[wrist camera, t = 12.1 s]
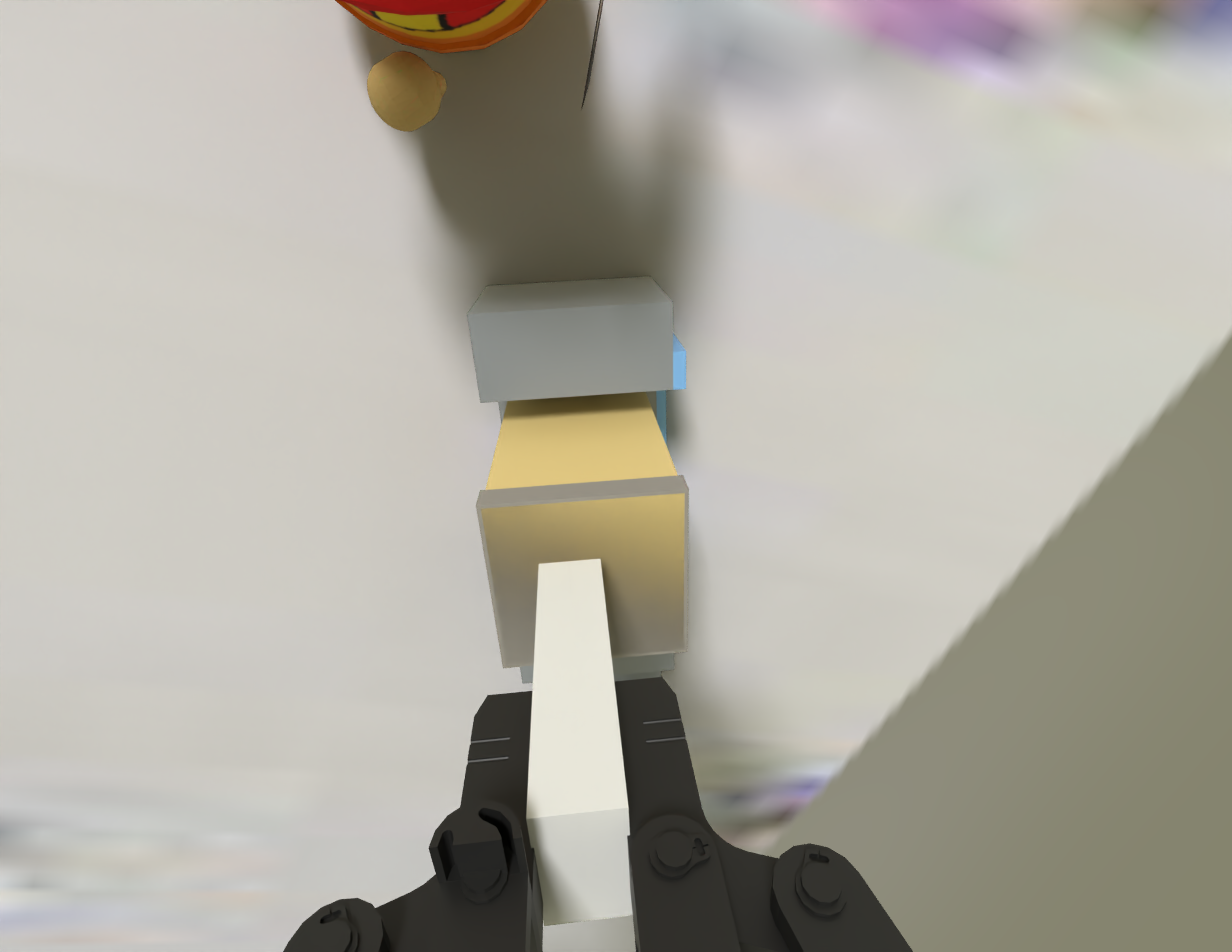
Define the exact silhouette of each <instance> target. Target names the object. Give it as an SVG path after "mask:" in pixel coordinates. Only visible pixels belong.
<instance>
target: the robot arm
mask: <svg viewBox="0 0 1232 952" xmlns="http://www.w3.org/2000/svg"><path fill="white" fill-rule="evenodd" d="M429 851H430V855H431V858H432V862H433V865H434V869H435V872H436V875H434V876H433V877H432V878H431V879H430V880H429V881H427V882H426V883H425V884H424V885H422V886H420V887H419V888H417V889H415V890H414V891H412V892H410V893H408V894H406V895H404V896H401V897H399V898H397V899H395V900H393V901H390V902H388V903H386V904H384V905H382V906H379V907H377V908H374V906H373V905H372V904H371V903H368V902H366V901H363V900H361V899H359V898H353V899H340V900H338V901H335V902H333V903H331V904H329V905H326V906H324V907H322V908H320V909H319V910H318V911H317V912H315V913H314V914H313V915H312V916H310V917H309V918H308V919H307V920H306V921H304V922H303V923H302V925H301V926H300V927H299V929H298V930H297V931H296V933H295V934H294V935H293V937H292V938H291V940H290V941H289V942H288V944H287V946H286V948H285V949H284V951H283V952H543V951H542V938H543V921H544V926H548V925H556V924H565V923H573V922H581V921H590V920H598V919H606V918H615V917H623V916H632V915H633V922H634V932H635V945H636V952H913V951H912V949H911V948H910V947H909V945H908V944H907V942H906V941H905V939H904V938H903V936H902V935H901V933H900V932H899V930H898V929H897V928H896V926H895V925H894V923H893V922H892V920H891V919H890V917H889V916H888V914H887V913H886V912H885V910H884V909H883V907H882V906H881V904H880V903H879V901H878V900H877V898H876V897H875V895H874V894H873V892H872V891H871V890H870V888H869V887H868V885H867V884H866V882H865V881H864V879H863V878H862V876H861V875H860V874H859V872H858V871H857V870H856V869H855V868H854V867H853V866H852V865H851V863H850V862H849V861H848V860H847V859H846V858H845V857H843V856H841V855H840V854H838V853H836V852H835V851H833V850H831V849H830V848H827V847H823V846H819V845H814V844H804V845H798V846H793V847H792V848H790V849H789V850H788V851H786V852H785V853H783V854H782V855H781V856H780V858H779V859H778V858H773V857H769V856H764V855H760V854H756V853H751V852H747V851H745V850H742V849H739V848H736V847H734V846H732V845H731V844H729V843H727V842H726V841H724V840H723V839H722V838H721V837H720V836H719V835H718V834H716V833H715V832H714V831H713V829H712V828H711V826H710V825H709V823H708V822H707V820H706V818H705V815H704V813H703V810H702V807H701V802H700V798H699V794H698V789H697V785H696V780H695V776H694V772H693V767H692V763H691V759H690V754H689V750H688V745H687V741H686V739H685V732H684V728H683V724H682V721H681V715H680V711H679V706H678V702H677V697H676V694H675V693H674V692H673V691H672V689H671V688H670V687H669V686H668V684H667V683H666V682H665V681H664V679H663V678H662V677H655V678H644V679H634V680H624V681H614V675H613V666H612V657H611V648H610V639H609V630H608V621H607V612H606V603H605V594H604V586H603V577H602V568H601V559H589V560H578V561H566V562H555V563H543V564H539V568H538V589H537V609H536V629H535V650H534V670H533V691H527V692H517V693H506V694H496V695H488V696H487V697H486V699H485V701H484V702H483V704H482V705H481V707H480V709H479V710H478V712H477V713H476V715H475V716H474V722H473V728H472V735H471V745H470V748H469V754H468V765H467V767H466V774H465V780H464V787H463V793H462V800H461V806H460V808H459V809H457V810H456V811H454V812H452V813H451V814H449V815H448V816H447V817H446V818H445V819H444V821H443V822H442V823H441V824H440V826H439V827H438V828H437V829H436V830H435V833H434V835H433V838H432V840H431V843H430V846H429Z"/></svg>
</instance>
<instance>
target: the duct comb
mask: <svg viewBox="0 0 1232 952" xmlns="http://www.w3.org/2000/svg"><path fill="white" fill-rule="evenodd" d="M467 317H468V323H469V330H470V337H471V343H472V350H473V357H474V363H475V370H476V377H477V383H478V390H479V397H480V403H485V402H498V403H499V410H500V417H501V425H502V421H503V417H504V413H505V409H506V405H507V401H515V400H529V399H544V398H559V397H573V396H588V395H603V394H617V393H632V392H646V394H647V397H648V400H649V402H650V405H651V407H652V410H653V413H654V415H655V418H656V420H657V423H658V425H659V428H660V431H661V433H662V436H663V438H664V441H665V444H666V446H667V443H666V390H676V389H686V350H685V349H684V348H683V346H682V345H681V343H680V342H679V340H678V339H677V338H676V336H675V335H674V333H673V301H672V300H671V299H670V298H669V297H668V296H667V294H666V293H665V292H664V291H663V290H662V289H661V288H660V287H659V285H658V284H657V283H656V282H655V281H654V280H653V279H652V278H651V276H644V277H627V278H610V279H593V280H576V281H559V282H542V283H525V284H508V285H491V286H487V287H486V288H485V289H484V291H483V292H482V294H481V295H480V297H479V298H478V299H477V301H476V302H475V304H474V305H473V306H472V308H471V309H470V311H469V312H468V314H467ZM612 666H613V675H614V681H624V680H634V679H644V678H655V677H661V671H666V670H674V653H667V654H656V655H645V656H634V657H623V658H612ZM520 669H521V676H522V683H533V670H534V666H523V667H520Z"/></svg>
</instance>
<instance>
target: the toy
mask: <svg viewBox="0 0 1232 952" xmlns="http://www.w3.org/2000/svg"><path fill="white" fill-rule="evenodd" d="M335 1H336V2H337V3H339V4H340V5H341V6H343V7H344V8H345V9H346V10H348V11H349V12H350V13H351V14H353V15H354V16H355V17H356V18H358V19H359V20H360V21H362V22H363V23H364V24H365V25H367V26H368V27H369V28H371V29H373V30H375V31H377V32H379V33H381V34H383V35H385V36H387V37H389V38H391V39H393V40H395V41H397V42H399V43H401V44H403V45H407V46H411V47H416V48H420V49H425V50H429V51H433V52H438V53H449V52H459V51H468V50H478V49H485V48H487V47H489V46H491V45H492V44H494V43H496V42H498V41H500V40H502V39H504V38H506V37H508V36H510V35H512V34H514V33H516V32H518V31H520V30H522V28H523V27H524V26H525V25H526V24H527V23H528V22H529V21H530V19H531V18H532V17H533V16H534V15H535V14H536V13H537V12H538V11H539V9H540V8H541V7H542V6H543V5H544V4H545V3H546V2H547V1H548V0H335ZM602 6H603V0H600V4H599V10H598V15H597V21H596V27H595V33H594V39H593V45H592V51H591V57H590V63H589V68H588V74H587V80H586V86H585V92H584V98H583V103H584V100H585V96H586V93H587V89H588V85H589V82H590V76H591V70H592V64H593V58H594V53H595V47H596V41H597V35H598V29H599V23H600V18H601V12H602ZM446 89H447V85H446V81H445V78H444V77H443V76H442V75H441V74H440V73H438V72H435V71H432V69H431V68H430V66H429V65H428V64H427V63H426V62H425V61H424V60H423V59H421V58H420V57H418V56H417V55H415V54H413V53H410V52H406V51H399V52H394V53H392V54H391V55H389V56H388V57H386V58H384V59H383V60H381V61H380V62H378V63H377V64H375V65H374V66H373V68H372V69H371V71H370V72H369V76H368V80H367V90H368V95H369V98H370V101H371V104H372V106H373V108H374V110H375V111H376V113H377V114H378V115H379V117H380V118H381V119H382V120H383V121H384V122H385V123H387V124H388V125H389V126H391V127H393V128H395V129H397V130H400V131H414V130H416V129H418V128H420V127H421V126H423V125H425V124H426V123H428V122H429V121H431V120H433V118H434V117H435V116H436V115H437V113H438V111H439V109H440V104H441V98H442V97H443V95H444V94H445V92H446ZM582 107H583V104H582Z"/></svg>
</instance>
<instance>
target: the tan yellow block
mask: <svg viewBox="0 0 1232 952" xmlns="http://www.w3.org/2000/svg"><path fill="white" fill-rule="evenodd" d="M476 508H477V514H478V520H479V526H480V532H481V538H482V544H483V550H484V556H485V562H486V568H487V574H488V580H489V586H490V592H491V598H492V604H493V610H494V616H495V622H496V628H497V634H498V640H499V646H500V652H501V658H502V664H503V668H511V667H523V666H534V650H535V629H536V609H537V589H538V568H539V564H543V563H555V562H566V561H578V560H589V559H601V568H602V577H603V586H604V594H605V603H606V612H607V621H608V630H609V639H610V648H611V657H612V658H623V657H634V656H645V655H656V654H667V653H678V652H687V627H688V508H689V489H688V486H687V484H686V481H685V479H684V476H683V475H677V472H676V470H675V467H674V464H673V462H672V459H671V457H670V454H669V451H668V449H667V446H666V444H665V441H664V438H663V436H662V433H661V431H660V428H659V425H658V423H657V420H656V418H655V415H654V413H653V410H652V407H651V405H650V402H649V400H648V397H647V394H646V392H632V393H617V394H603V395H588V396H573V397H559V398H544V399H529V400H515V401H507V405H506V409H505V413H504V417H503V421H502V425H501V429H500V433H499V437H498V441H497V445H496V449H495V454H494V458H493V462H492V466H491V470H490V474H489V478H488V482H487V486H486V490H480V492H479V496H478V500H477V504H476Z"/></svg>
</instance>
